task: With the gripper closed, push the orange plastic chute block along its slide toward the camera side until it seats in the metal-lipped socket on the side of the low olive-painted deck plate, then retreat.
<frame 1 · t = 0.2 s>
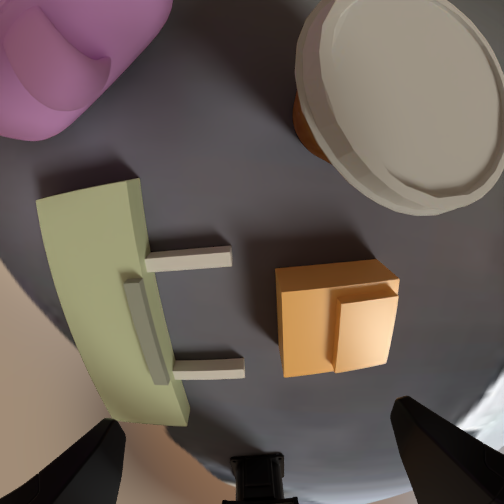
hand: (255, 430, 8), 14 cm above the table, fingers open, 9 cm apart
teapot: (80, 29, 15), on the table
disposable coffee cup: (335, 119, 18), on the table
deck: (120, 318, 22), on the table
chute: (335, 321, 20), point 2 cm above the table, slide at 0.0 cm
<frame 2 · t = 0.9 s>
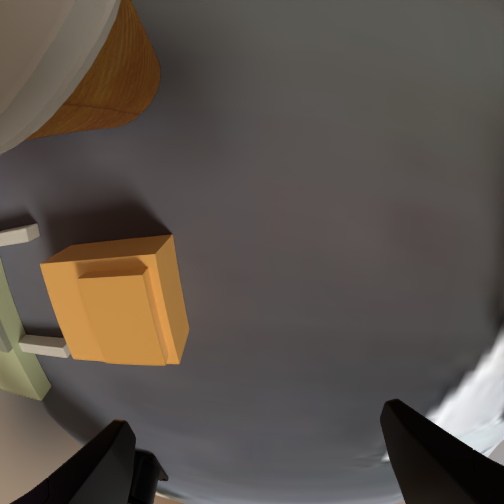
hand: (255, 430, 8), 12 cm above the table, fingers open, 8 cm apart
disposable coffee cup: (116, 83, 15), on the table
chute: (114, 304, 17), point 2 cm above the table, slide at 0.0 cm
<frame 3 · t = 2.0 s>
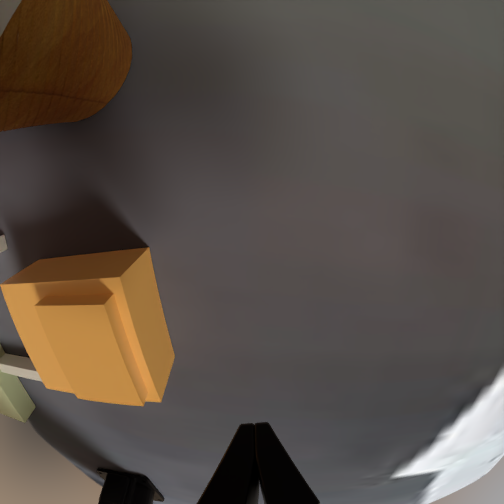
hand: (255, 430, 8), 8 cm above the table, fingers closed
disposable coffee cup: (83, 69, 12), on the table
chute: (84, 330, 13), point 2 cm above the table, slide at 0.0 cm
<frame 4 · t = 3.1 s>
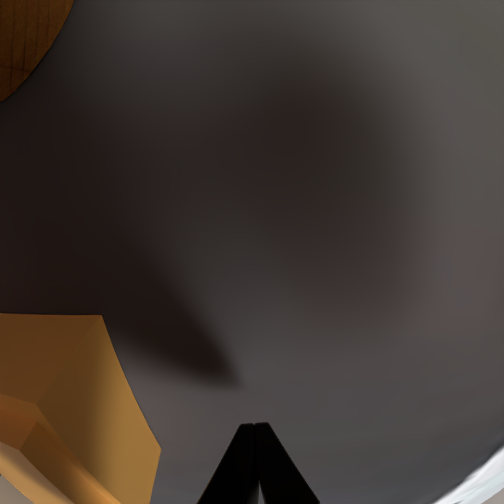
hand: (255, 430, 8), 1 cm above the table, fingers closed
disposable coffee cup: (12, 30, 5), on the table
chute: (28, 426, 7), point 2 cm above the table, slide at 0.0 cm
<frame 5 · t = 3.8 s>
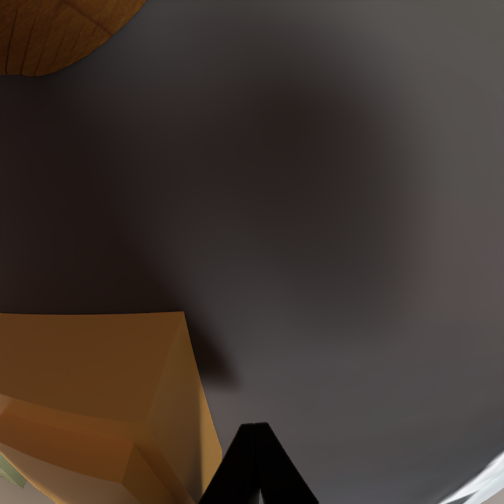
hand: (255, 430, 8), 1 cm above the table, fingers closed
chute: (80, 442, 7), point 3 cm above the table, slide at 0.3 cm, touching gripper
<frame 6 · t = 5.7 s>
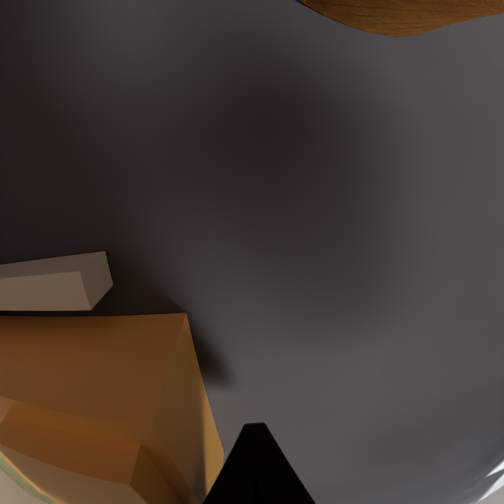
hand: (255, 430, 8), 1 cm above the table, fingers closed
chute: (83, 444, 7), point 2 cm above the table, slide at 9.0 cm, touching deck, gripper
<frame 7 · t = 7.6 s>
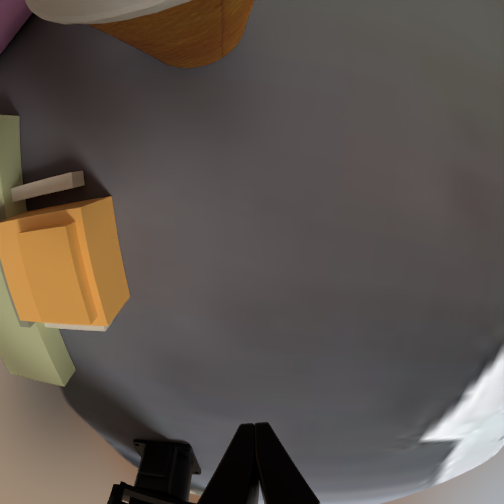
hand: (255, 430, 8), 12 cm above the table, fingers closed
teapot: (4, 4, 10), on the table
disposable coffee cup: (194, 27, 14), on the table
deck: (6, 258, 18), on the table
chute: (54, 264, 16), point 2 cm above the table, slide at 9.0 cm, touching deck
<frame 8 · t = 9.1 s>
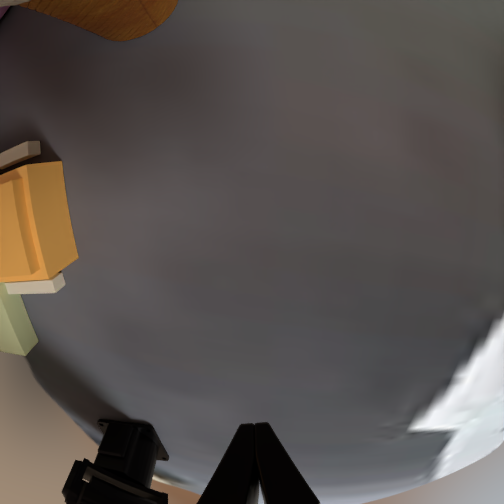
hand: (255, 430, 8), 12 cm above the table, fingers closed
disposable coffee cup: (135, 6, 13), on the table
chute: (11, 226, 15), point 3 cm above the table, slide at 9.0 cm, touching deck
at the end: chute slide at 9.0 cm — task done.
